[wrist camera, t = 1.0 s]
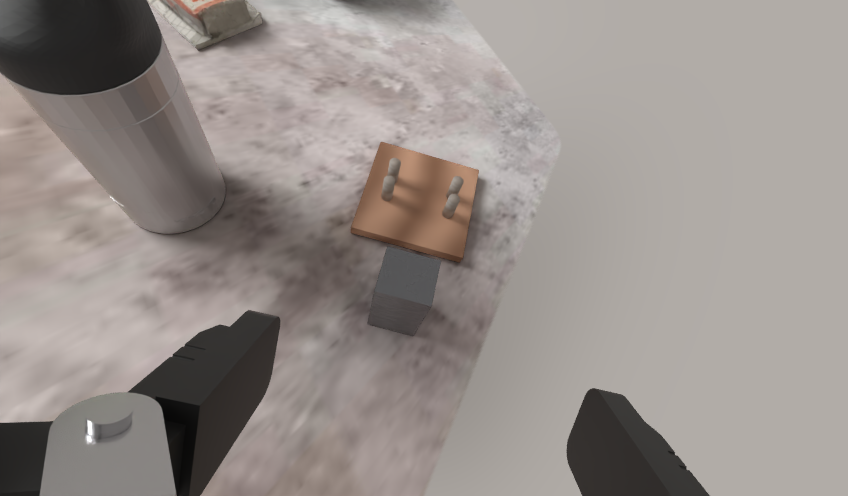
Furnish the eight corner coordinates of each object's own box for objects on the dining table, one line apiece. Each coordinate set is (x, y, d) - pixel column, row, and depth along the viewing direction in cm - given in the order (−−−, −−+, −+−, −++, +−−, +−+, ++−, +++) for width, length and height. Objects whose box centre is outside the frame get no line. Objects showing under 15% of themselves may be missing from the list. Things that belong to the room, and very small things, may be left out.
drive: (367, 324, 39) (374, 291, 31) (378, 285, 41) (387, 245, 33) (412, 336, 39) (431, 306, 31) (421, 297, 41) (441, 259, 33)
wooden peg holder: (350, 232, 43) (351, 211, 39) (379, 148, 48) (383, 123, 45) (459, 262, 43) (471, 244, 40) (476, 176, 49) (487, 153, 45)
